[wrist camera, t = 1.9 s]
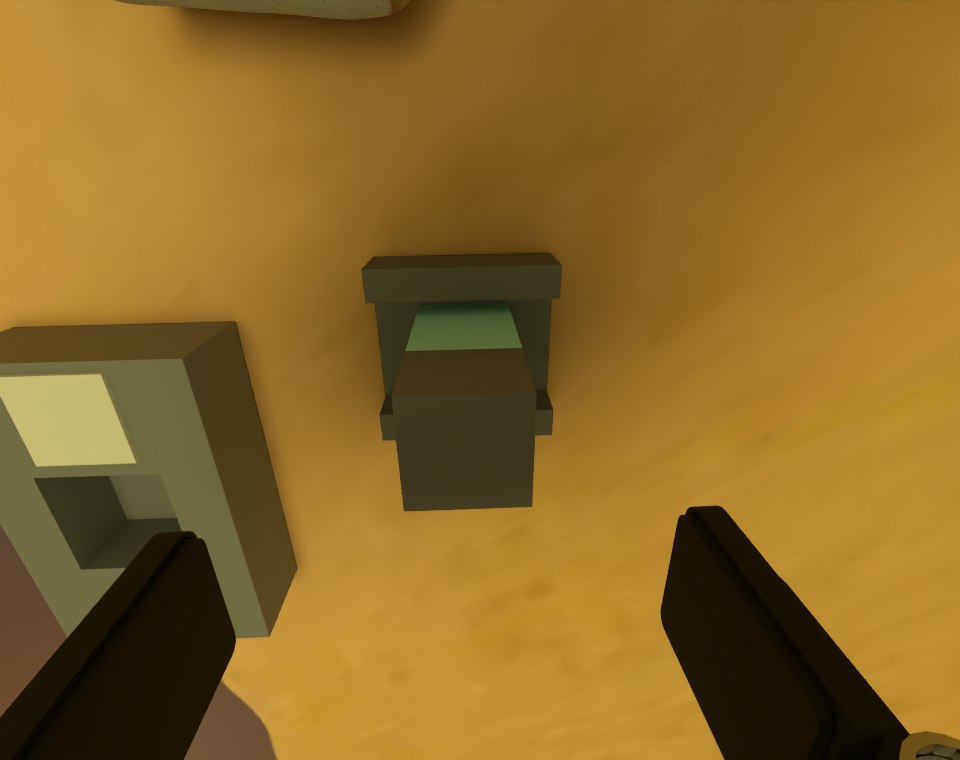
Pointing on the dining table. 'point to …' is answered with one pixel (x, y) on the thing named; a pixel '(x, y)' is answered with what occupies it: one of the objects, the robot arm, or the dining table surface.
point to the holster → (464, 281)
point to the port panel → (137, 462)
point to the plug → (465, 411)
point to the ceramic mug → (292, 7)
